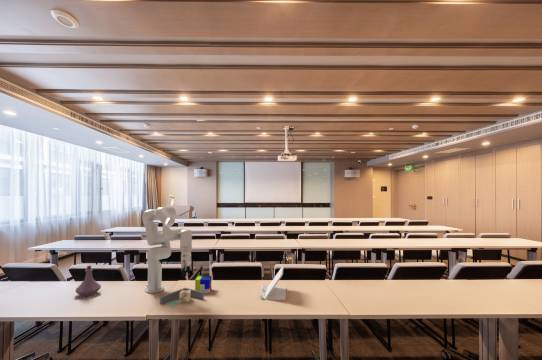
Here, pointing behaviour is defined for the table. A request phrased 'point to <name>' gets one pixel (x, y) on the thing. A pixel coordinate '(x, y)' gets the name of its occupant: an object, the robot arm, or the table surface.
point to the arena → (177, 293)
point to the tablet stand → (274, 289)
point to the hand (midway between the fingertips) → (185, 274)
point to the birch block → (185, 296)
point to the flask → (88, 284)
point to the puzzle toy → (203, 284)
